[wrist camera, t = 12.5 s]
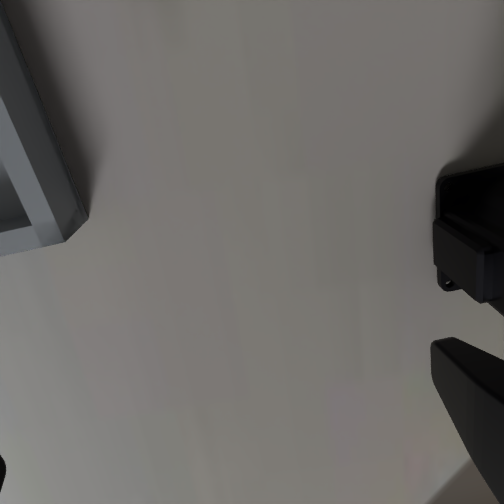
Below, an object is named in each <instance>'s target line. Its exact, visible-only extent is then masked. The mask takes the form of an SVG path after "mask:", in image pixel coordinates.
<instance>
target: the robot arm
mask: <svg viewBox="0 0 504 504" xmlns="http://www.w3.org/2000/svg"><path fill="white" fill-rule="evenodd" d="M449 182H450V184H451V185H450V187H449V189H447V190H445V189H444V188H445V185H446V184H447V183H449ZM433 254H434V265H435V266H437V279H438V285H439V286H440V287H441V288H442V289H443V290H444V291H447V292H448V291H455V290H459V289H463V290H464V291H465V292H466V293H467V294H468V295H469V296H471V297H472V298H473V299H474V300H475V301H477V302H478V303H480V304H481V303H486V302H487V303H489V304H490V305H491V306H492V307H493V308H494V309H496V310H497V311H498V312H499V313H500V314H501V315H503V316H504V163H501V164H496V165H492V166H487V167H483V168H478V169H474V170H469V171H465V172H460V173H456V174H451V175H446V176H444V177H441V178H440V179H439V180H438V182H437V183H436V219H435V220H434V222H433ZM448 280H451V281H450V282H449V283H448V284H446V282H447V281H448ZM430 351H431V375H432V380H433V383H434V385H435V387H436V389H437V391H438V393H439V395H440V397H441V399H442V401H443V403H444V405H445V407H446V409H447V411H448V413H449V415H450V417H451V419H452V421H453V423H454V425H455V427H456V429H457V431H458V433H459V435H460V437H461V439H462V441H463V443H464V445H465V447H466V449H467V451H468V453H469V455H470V457H471V458H472V460H473V462H474V464H475V465H476V467H477V468H478V470H479V472H480V474H481V475H482V477H483V478H484V480H485V481H486V483H487V485H488V486H489V488H490V489H491V491H492V493H493V494H494V496H495V497H496V499H497V500H498V502H499V503H500V504H504V360H502V359H500V358H498V357H496V356H493V355H491V354H489V353H487V352H485V351H483V350H481V349H478V348H476V347H474V346H472V345H470V344H468V343H466V342H463V341H461V340H459V339H457V338H454V337H448V338H444V339H439V340H435V341H433V342H432V343H431V347H430ZM5 475H6V464H5V461H4V459H3V458H2V457H1V455H0V492H1V488H2V485H3V482H4V478H5Z"/></svg>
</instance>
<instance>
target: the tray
mask: <svg viewBox="0 0 504 504" xmlns="http://www.w3.org/2000/svg"><path fill="white" fill-rule="evenodd" d="M87 220H88V216H87V214H86V211H85V209H84V206H83V204H82V201H81V199H80V196H79V194H78V191H77V189H76V186H75V184H74V181H73V179H72V176H71V174H70V172H69V169H68V167H67V164H66V162H65V159H64V157H63V154H62V152H61V149H60V147H59V144H58V142H57V139H56V137H55V134H54V132H53V129H52V127H51V124H50V122H49V119H48V117H47V114H46V112H45V110H44V107H43V105H42V102H41V100H40V97H39V95H38V92H37V90H36V87H35V85H34V82H33V80H32V77H31V75H30V72H29V70H28V67H27V65H26V62H25V60H24V57H23V55H22V52H21V50H20V47H19V45H18V43H17V40H16V38H15V35H14V33H13V30H12V28H11V25H10V23H9V20H8V18H7V15H6V13H5V10H4V8H3V5H2V3H1V0H0V256H5V255H9V254H14V253H18V252H23V251H27V250H32V249H36V248H41V247H45V246H50V245H54V244H59V243H63V242H66V241H67V240H68V239H69V238H70V237H71V236H72V235H73V234H74V233H75V232H76V231H77V230H78V229H79V228H80V227H81V226H82V225H83V224H84V223H85V222H86V221H87Z"/></svg>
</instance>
